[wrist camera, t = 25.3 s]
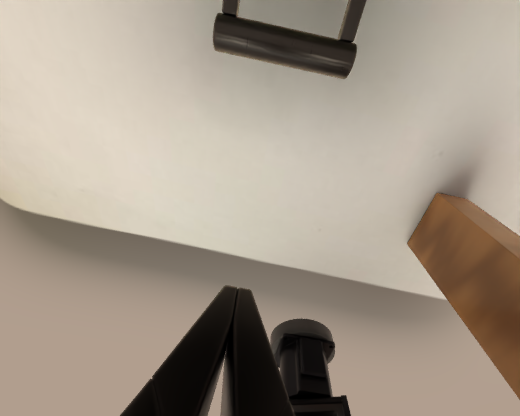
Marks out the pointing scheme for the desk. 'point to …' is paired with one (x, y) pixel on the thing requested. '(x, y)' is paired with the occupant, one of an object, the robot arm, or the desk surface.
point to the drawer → (289, 41)
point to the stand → (475, 275)
